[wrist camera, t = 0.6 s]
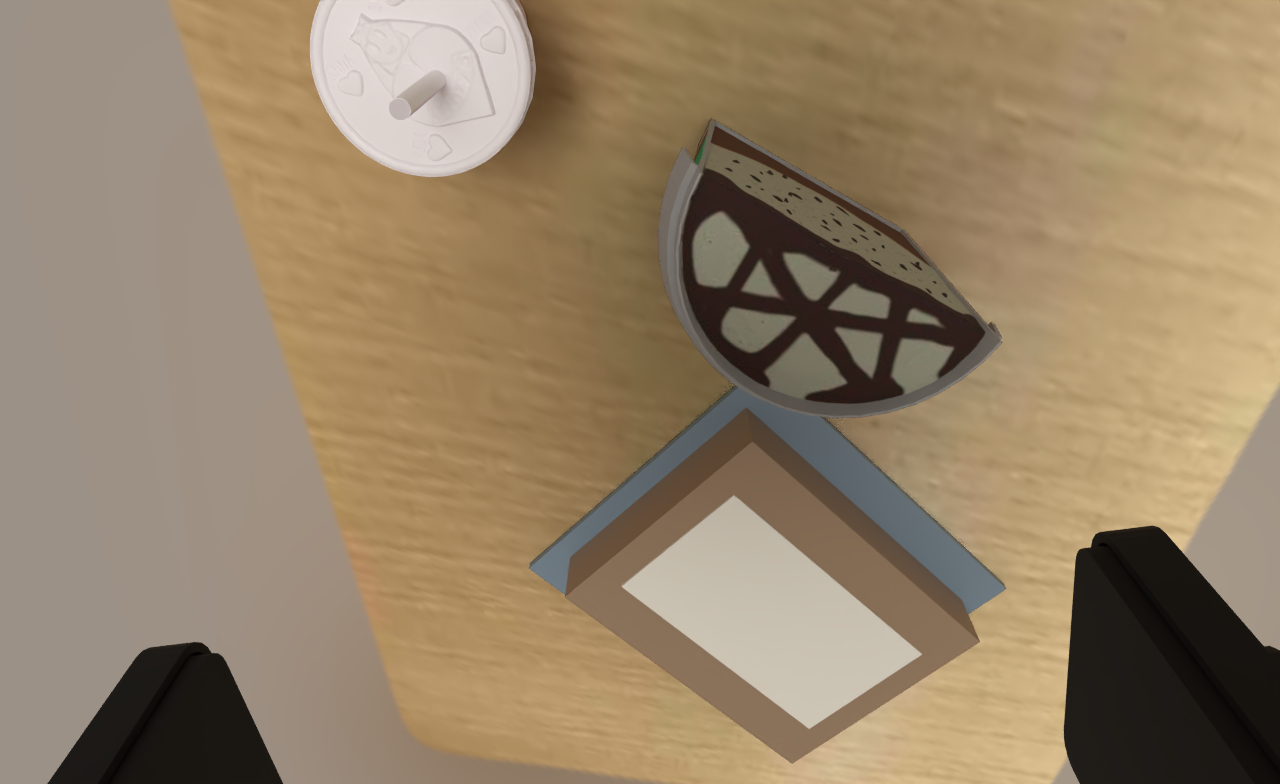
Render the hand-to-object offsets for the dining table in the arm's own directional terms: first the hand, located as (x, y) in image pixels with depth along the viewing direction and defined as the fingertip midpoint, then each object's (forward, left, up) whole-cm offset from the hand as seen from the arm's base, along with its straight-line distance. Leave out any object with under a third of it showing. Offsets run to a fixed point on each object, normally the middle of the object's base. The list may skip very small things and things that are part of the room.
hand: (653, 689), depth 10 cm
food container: (0, +7, -30) cm, 30 cm away
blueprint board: (+12, +20, -30) cm, 37 cm away
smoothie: (+2, -7, -30) cm, 31 cm away
